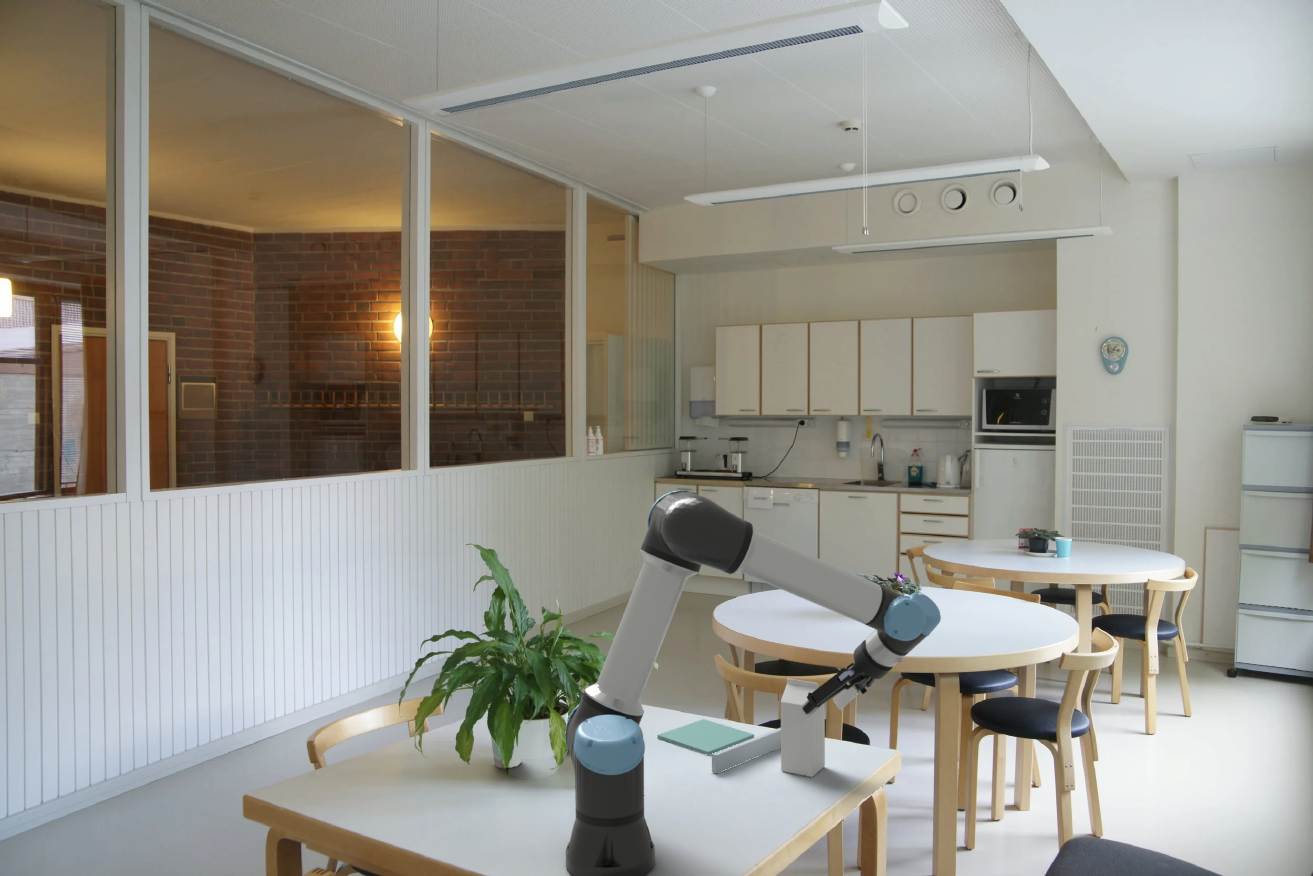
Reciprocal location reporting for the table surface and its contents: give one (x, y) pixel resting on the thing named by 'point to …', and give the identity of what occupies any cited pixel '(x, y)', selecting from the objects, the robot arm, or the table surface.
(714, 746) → the teal board
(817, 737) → the milk carton
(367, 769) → the table surface
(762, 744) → the acrylic wall
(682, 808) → the table surface
